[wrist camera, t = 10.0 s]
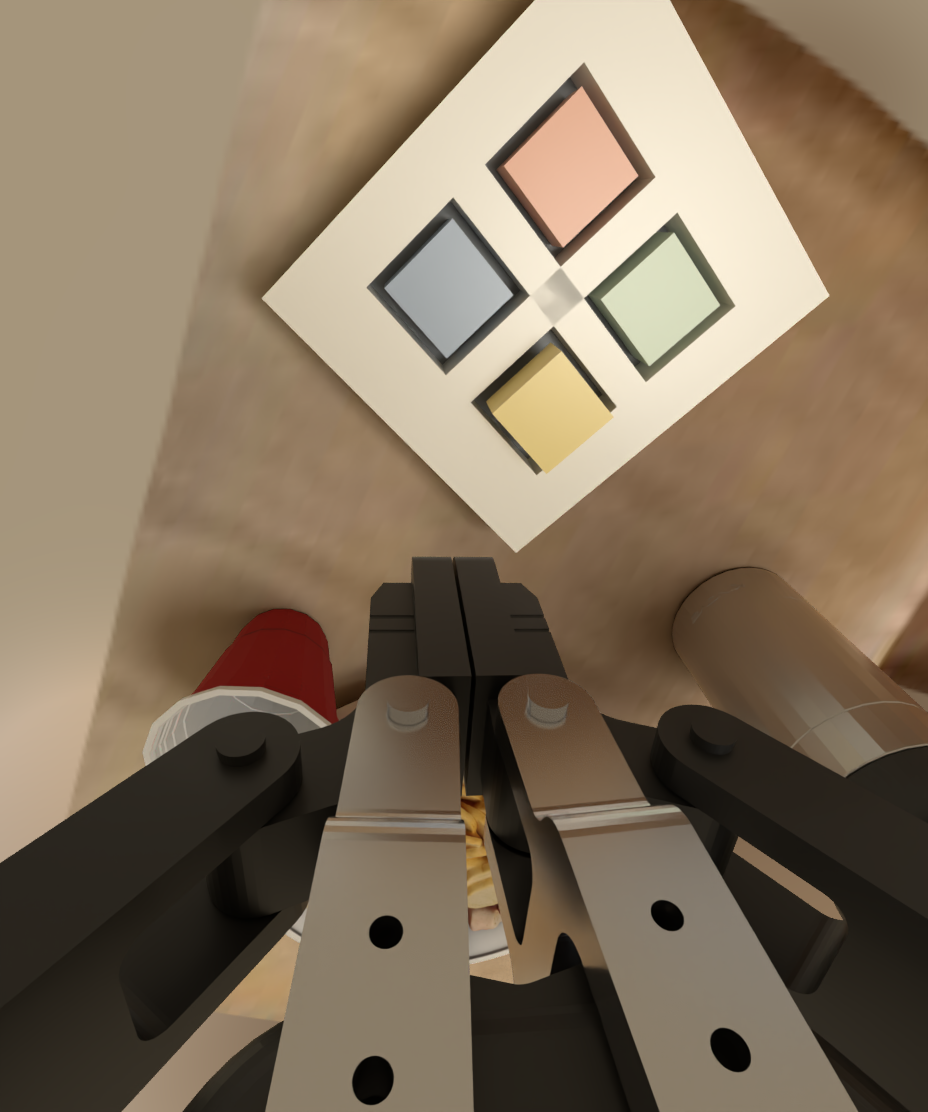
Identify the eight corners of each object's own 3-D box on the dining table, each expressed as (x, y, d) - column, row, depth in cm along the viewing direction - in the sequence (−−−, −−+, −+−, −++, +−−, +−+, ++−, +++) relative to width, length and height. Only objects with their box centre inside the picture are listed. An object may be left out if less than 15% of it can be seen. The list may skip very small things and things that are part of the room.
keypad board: (784, 288, 36) (829, 295, 32) (505, 523, 41) (516, 552, 38) (589, -52, 28) (619, -93, 25) (275, 289, 34) (261, 298, 30)
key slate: (505, 290, 33) (513, 294, 31) (443, 349, 34) (446, 358, 32) (448, 218, 31) (452, 218, 29) (384, 284, 32) (384, 288, 30)
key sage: (700, 300, 34) (720, 305, 32) (633, 357, 35) (649, 366, 33) (655, 231, 32) (674, 232, 30) (587, 294, 33) (600, 299, 31)
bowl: (235, 658, 44) (206, 739, 38) (644, 660, 48) (687, 734, 41) (262, 923, 58) (245, 1018, 51) (579, 908, 62) (602, 995, 55)
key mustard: (600, 404, 34) (613, 417, 32) (537, 459, 35) (546, 474, 33) (550, 342, 32) (561, 351, 30) (485, 401, 33) (492, 413, 31)
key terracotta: (621, 178, 31) (638, 175, 29) (552, 245, 32) (563, 247, 30) (568, 96, 29) (581, 86, 27) (496, 169, 30) (503, 165, 28)
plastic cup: (205, 560, 40) (140, 681, 30) (374, 589, 43) (368, 710, 32) (193, 692, 45) (133, 836, 35) (346, 711, 47) (333, 853, 37)
